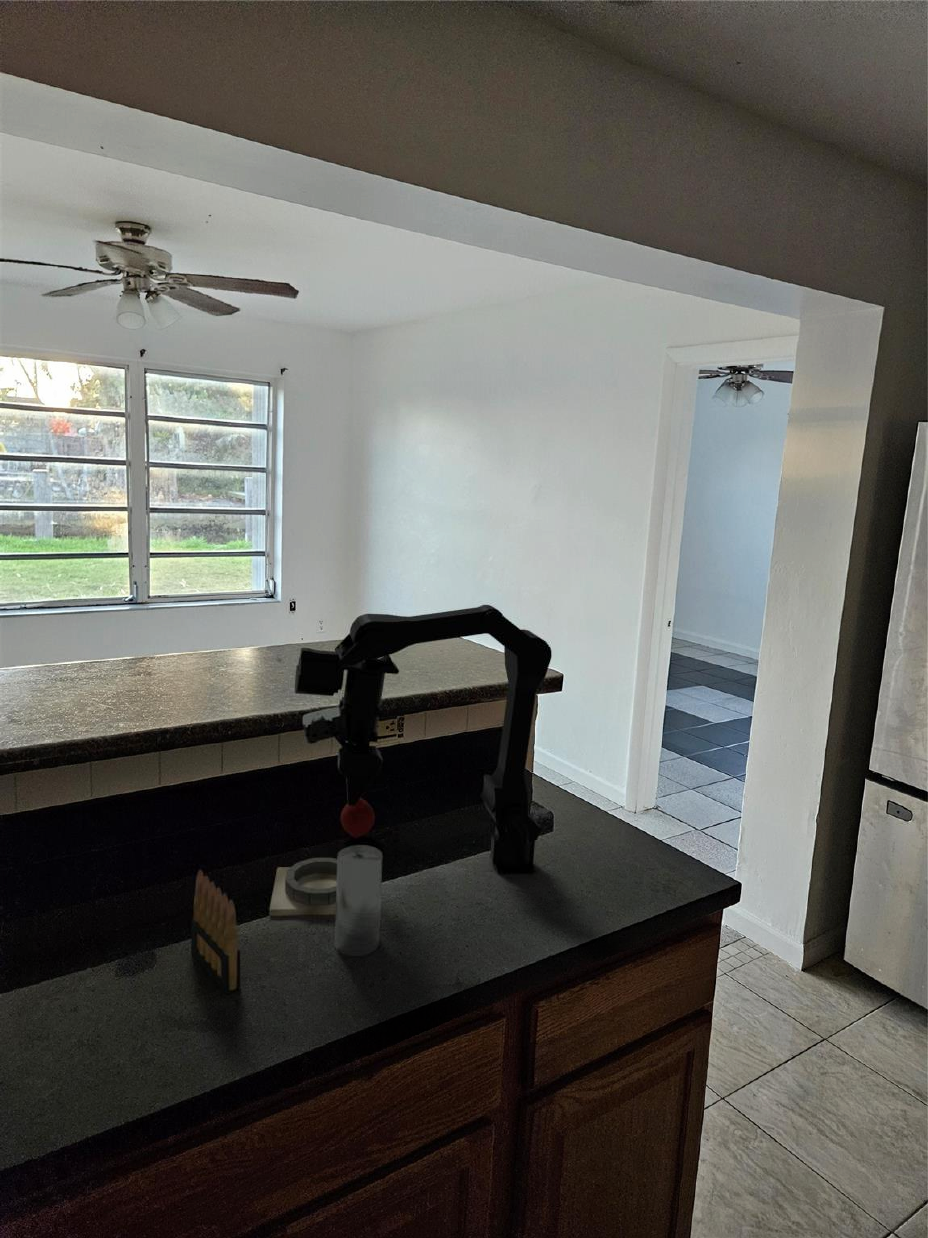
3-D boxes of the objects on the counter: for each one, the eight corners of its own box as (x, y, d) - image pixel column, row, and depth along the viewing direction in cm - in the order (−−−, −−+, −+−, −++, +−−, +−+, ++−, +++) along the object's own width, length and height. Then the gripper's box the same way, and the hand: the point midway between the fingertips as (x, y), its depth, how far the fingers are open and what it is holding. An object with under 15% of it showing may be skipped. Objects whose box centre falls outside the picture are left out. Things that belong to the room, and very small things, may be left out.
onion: (376, 831, 140) (378, 789, 139) (369, 846, 135) (371, 803, 133) (344, 828, 141) (346, 786, 139) (336, 843, 135) (337, 800, 134)
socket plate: (366, 872, 126) (367, 854, 126) (367, 914, 115) (368, 895, 114) (277, 873, 124) (277, 855, 124) (269, 916, 113) (269, 897, 112)
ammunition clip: (241, 989, 97) (241, 901, 95) (226, 995, 96) (227, 906, 94) (204, 947, 105) (204, 864, 103) (190, 952, 104) (190, 869, 101)
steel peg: (378, 929, 111) (381, 844, 109) (379, 955, 105) (383, 866, 103) (335, 930, 110) (338, 845, 108) (334, 957, 104) (336, 867, 102)
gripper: (308, 673, 126) (297, 763, 130) (310, 715, 109) (297, 817, 112) (376, 680, 129) (364, 768, 132) (389, 721, 111) (374, 821, 115)
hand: (349, 791), depth 123 cm, fingers open, 9 cm apart
